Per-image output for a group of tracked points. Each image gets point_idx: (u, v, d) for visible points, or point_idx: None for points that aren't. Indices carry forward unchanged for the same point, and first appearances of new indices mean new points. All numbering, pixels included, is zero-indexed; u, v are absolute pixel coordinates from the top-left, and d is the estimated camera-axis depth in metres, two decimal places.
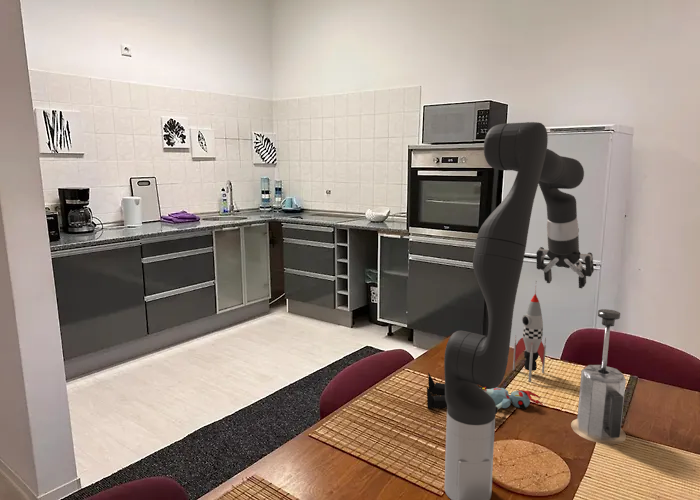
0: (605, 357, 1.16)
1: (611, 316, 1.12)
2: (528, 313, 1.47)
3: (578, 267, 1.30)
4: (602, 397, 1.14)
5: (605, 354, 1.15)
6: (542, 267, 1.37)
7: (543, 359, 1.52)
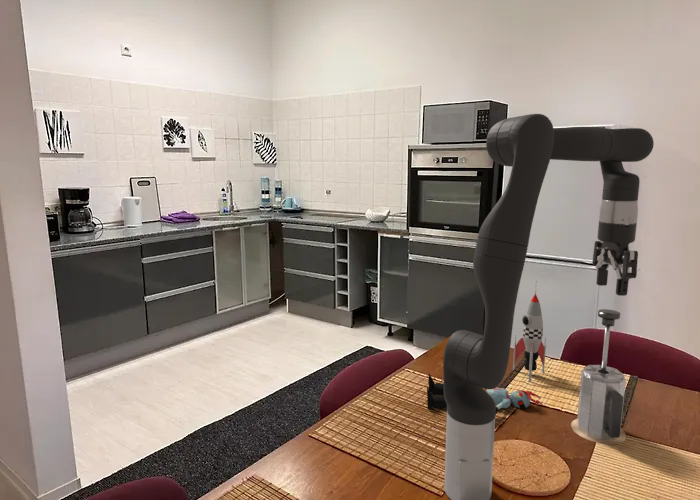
0: (605, 357, 1.16)
1: (611, 316, 1.12)
2: (528, 313, 1.47)
3: (619, 266, 1.08)
4: (602, 397, 1.14)
5: (605, 354, 1.15)
6: None
7: (543, 359, 1.52)
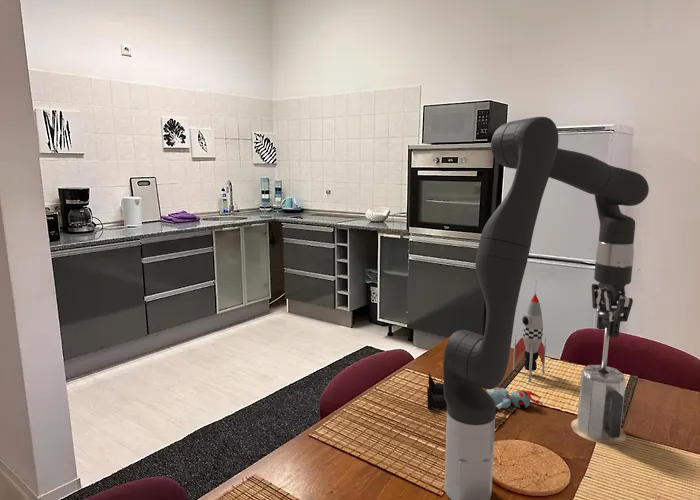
0: (605, 358, 1.16)
1: None
2: (528, 313, 1.47)
3: (613, 309, 1.11)
4: (602, 397, 1.14)
5: (605, 354, 1.15)
6: None
7: (543, 359, 1.52)
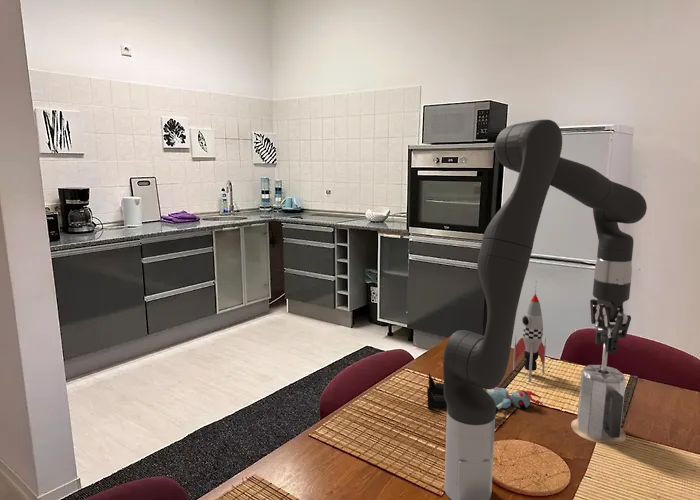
0: (604, 373, 1.16)
1: None
2: (528, 313, 1.47)
3: (611, 325, 1.12)
4: (602, 397, 1.14)
5: (604, 370, 1.16)
6: None
7: (543, 359, 1.52)
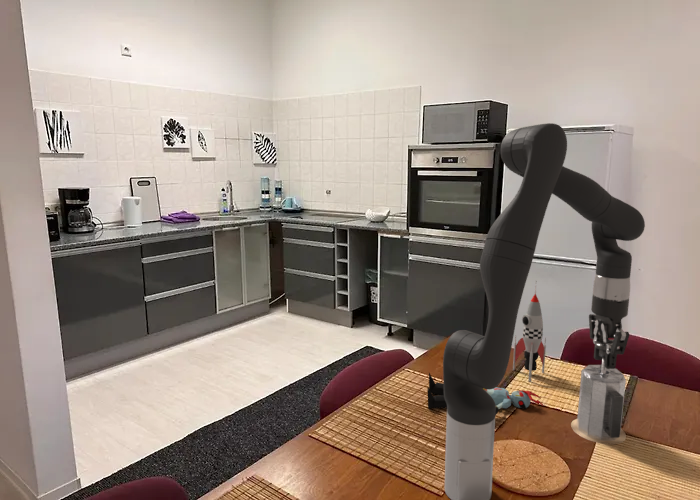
0: None
1: None
2: (528, 313, 1.47)
3: (610, 341, 1.12)
4: (602, 397, 1.14)
5: None
6: None
7: (543, 359, 1.52)
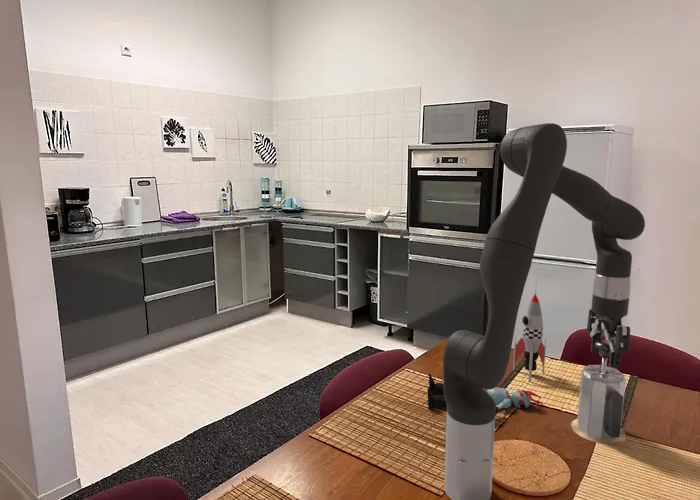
0: None
1: (608, 348, 1.13)
2: (528, 313, 1.47)
3: (613, 339, 1.11)
4: (602, 397, 1.14)
5: None
6: (591, 331, 1.21)
7: (543, 359, 1.52)
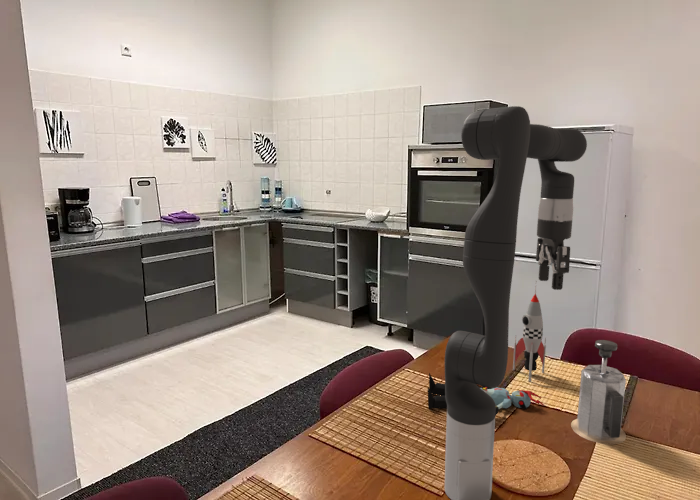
0: None
1: (608, 348, 1.13)
2: (528, 313, 1.47)
3: (555, 261, 1.13)
4: (602, 397, 1.14)
5: None
6: (540, 259, 1.22)
7: (543, 359, 1.52)
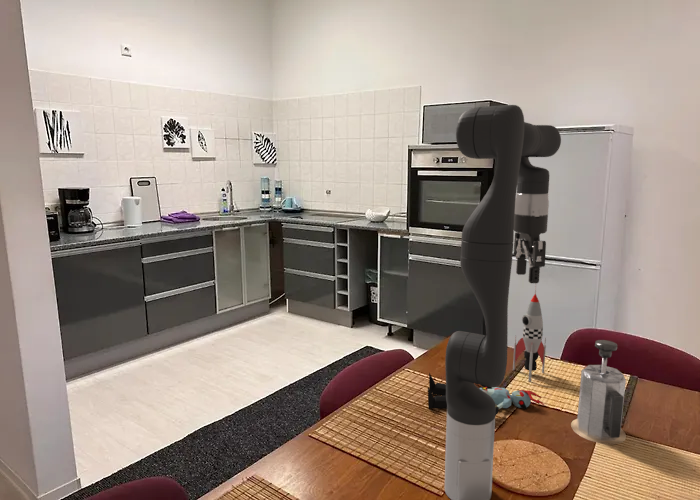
0: None
1: (608, 348, 1.13)
2: (528, 313, 1.47)
3: (531, 255, 1.15)
4: (602, 397, 1.14)
5: None
6: None
7: (543, 359, 1.52)
